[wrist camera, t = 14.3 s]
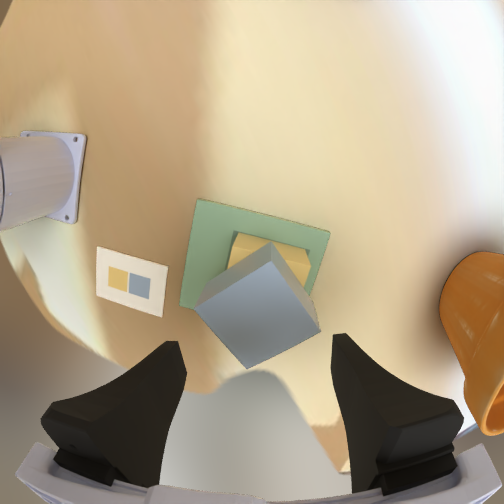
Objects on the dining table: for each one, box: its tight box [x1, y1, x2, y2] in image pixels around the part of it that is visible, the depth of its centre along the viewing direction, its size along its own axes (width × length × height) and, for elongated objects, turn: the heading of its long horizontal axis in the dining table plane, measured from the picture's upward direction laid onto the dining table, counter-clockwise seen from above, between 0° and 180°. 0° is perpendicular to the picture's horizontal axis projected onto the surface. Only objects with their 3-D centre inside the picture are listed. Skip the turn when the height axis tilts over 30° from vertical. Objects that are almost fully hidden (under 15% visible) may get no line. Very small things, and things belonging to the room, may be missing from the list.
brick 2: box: [193, 241, 321, 369], centre depth 17 cm, size 5×5×4 cm
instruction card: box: [96, 246, 169, 317], centre depth 23 cm, size 7×5×1 cm
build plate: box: [179, 198, 330, 310], centre depth 22 cm, size 10×9×1 cm
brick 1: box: [227, 232, 311, 288], centre depth 20 cm, size 5×5×4 cm
